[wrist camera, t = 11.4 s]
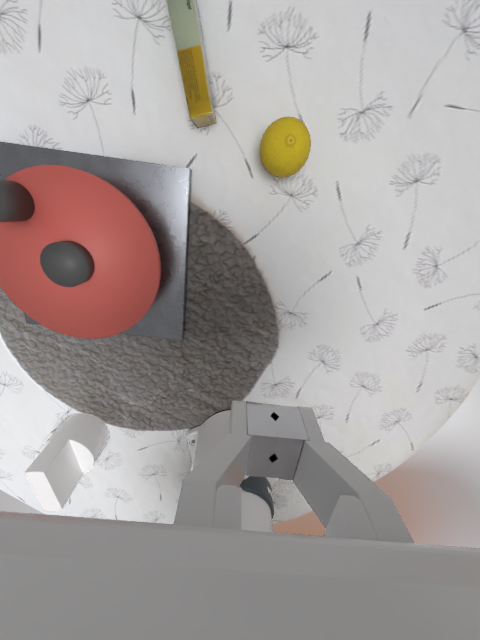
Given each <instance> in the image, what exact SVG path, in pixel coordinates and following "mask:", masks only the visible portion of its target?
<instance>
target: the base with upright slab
mask: <svg viewBox="0 0 480 640" xmlns="http://www.w3.org/2000/svg"><path fill="white" fill-rule="evenodd" d="M109 437H110V431H109V428H108V426H107V425H106V424H105V423H104V421H102V420H101V419H100V418H98V417H96V416H94V415H91V414H87V413H75V414H72V415H70V416H68V417H67V418H66V419H65V420H64V421H63V422H62V423H61V425H60V426H59V427H58V428H57V429H56V431H55V432H54V433H53V434H52V435H51V437H50V438H49V439H48V440H47V441H46V443H45V444H44V445H43V447H42V449H41V453H40V454H39V456H38V457H37V458H36V459H35V460H34V462H33V463H32V464H31V465H30V466H29V468H28V469H27V470H26V471H25V473H24V474H25V476H26V478H27V480H28V482H29V484H30V486H31V487H32V489H33V491H34V493H35V495H36V497H37V499H38V500H39V502H40V504H41V506H42V508H43V510H46V511H57V510H62V509H63V507H64V506H65V504H66V502H67V501H68V499H69V497H70V495H71V494H72V492H73V490H74V489H75V487H76V485H77V484H78V482H79V480H80V479H81V477H82V475H83V474H85V473H87V472H89V471H90V470H91V469H92V467H93V466H94V464H95V462H96V461H97V459H98V457H99V455H100V454H101V452H102V450H103V448H104V447H105V445H106V443H107V441H108V440H109Z"/></svg>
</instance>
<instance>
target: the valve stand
mask: <svg viewBox="0 0 480 640" xmlns="http://www.w3.org/2000/svg"><path fill="white" fill-rule="evenodd" d="M38 165H59V166H67V167H71V168H75V169H78V170H82V171H86V172H88V173H91V174H93V175H96V176H98V177H100V178H102V179H103V180H105V181H107V182H109V183H110V184H112V185H113V186H114V187H116V188H117V189H119V190H120V191H121V192H122V193H123V194H124V195H126V196H127V197H128V198H129V199H130V200H131V201H132V202H133V204H134V205H135V206H136V207H137V208H138V209H139V211H140V212H141V213H142V215H143V216H144V218H145V219H146V221H147V223H148V224H149V226H150V228H151V230H152V232H153V235H154V237H155V240H156V242H157V246H158V249H159V253H160V260H161V280H160V286H159V290H158V293H157V296H156V298H155V300H154V303H153V304H152V306H151V307H150V309H149V310H148V312H147V313H146V314H145V315H144V316H143V317H142V318H141V319H140V320H139V321H138V322H137V323H136V324H135V325H133V326H132V327H131V328H129V329H127V330H126V331H124V332H121V333H120V334H129V335H138V336H147V337H156V338H165V339H174V340H182V339H183V337H184V322H185V300H186V279H187V257H188V236H189V214H190V193H191V171H192V170H191V169H189V168H182V167H174V166H167V165H160V164H153V163H146V162H139V161H132V160H125V159H118V158H111V157H104V156H97V155H90V154H83V153H75V152H68V151H61V150H54V149H47V148H40V147H33V146H26V145H19V144H12V143H5V142H0V179H2V180H5V179H6V178H7V177H9V176H11V175H12V174H14V173H16V172H17V171H20V170H23V169H25V168H28V167H33V166H38ZM24 314H25V319H26V323H30V324H39V325H42V324H40V323H38V322H37V321H35V320H34V319H32V318H31V317H29V316H28V315H27V314H26V313H24Z"/></svg>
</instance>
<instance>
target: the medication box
mask: <svg viewBox="0 0 480 640" xmlns="http://www.w3.org/2000/svg"><path fill="white" fill-rule="evenodd" d="M167 3H168V9H169V14H170V19H171V24H172V29H173V34H174V39H175V44H176V49H177V54H178V59H179V64H180V69H181V74H182V79H183V84H184V89H185V94H186V99H187V104H188V109H189V115H190V118H191V120H192V122H193V123H194V124H195V125H196V126H197V128H199V127H205V126H209V125H212V124H215V123H216V116H215V109H214V103H213V97H212V90H211V84H210V78H209V72H208V66H207V60H206V53H205V47H204V41H203V35H202V29H201V22H200V16H199V10H198V4H197V0H167Z"/></svg>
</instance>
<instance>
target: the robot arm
mask: <svg viewBox="0 0 480 640" xmlns="http://www.w3.org/2000/svg"><path fill="white" fill-rule="evenodd" d="M187 442H188V447H189V452H190V457H191V462H192V465H191V472H190V473H189V474H188V476H187V477H186V478H185V479H184V480H183V484H182V489H181V493H180V498H179V502H178V507H177V512H176V516H175V521H174V524H161V523H148V522H135V521H122V520H110V519H97V518H84V517H71V516H58V515H46V514H32V513H20V512H7V511H0V640H480V548H467V547H454V546H443V545H430V544H417V543H414V541H413V539H412V537H411V535H410V533H409V532H408V529H407V528H406V526H405V524H404V522H403V520H402V518H401V516H400V514H399V512H398V511H397V508H396V507H395V505H394V503H393V501H392V499H391V498H390V497H389V496H388V495H387V494H386V493H385V492H383V491H382V490H381V489H380V488H379V487H378V486H377V485H376V484H375V483H374V482H372V481H371V480H370V479H369V478H368V477H367V476H366V475H365V474H363V473H362V472H361V471H360V470H359V469H358V468H357V467H356V466H355V465H353V464H352V463H351V462H350V461H349V460H348V459H347V458H346V457H344V456H343V455H342V454H341V453H340V452H339V451H338V450H337V449H336V448H334V447H333V446H332V445H331V444H330V443H326V442H325V441H324V438H323V435H322V433H321V430H320V428H319V425H318V422H317V420H316V417H315V414H314V412H313V409H312V408H308V407H291V406H281V405H271V404H263V403H255V402H247V401H246V402H245V401H237V400H232V405H231V410H228V411H223V412H219V413H217V414H215V415H213V416H211V417H210V418H208V419H207V420H206V421H205V422H204V423H203V424H202V425H200V426H198V427H195V428H193V429H191V430H189V431H188V432H187ZM278 478H279V479H288V480H293V482H294V483H295V485H296V486H297V488H298V489H299V491H300V492H301V493H302V495H303V496H304V498H305V499H306V501H307V502H308V504H309V505H310V506H311V508H312V509H313V511H314V512H315V513H316V515H317V516H318V518H319V519H320V521H321V522H322V524H323V525H324V527H325V528H326V531H325V533H324V536H313V535H301V534H288V533H274V532H273V526H272V518H273V515H274V507H273V505H274V499H273V494H272V488H273V486H274V485H275V484H276V481H277V480H278Z"/></svg>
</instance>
